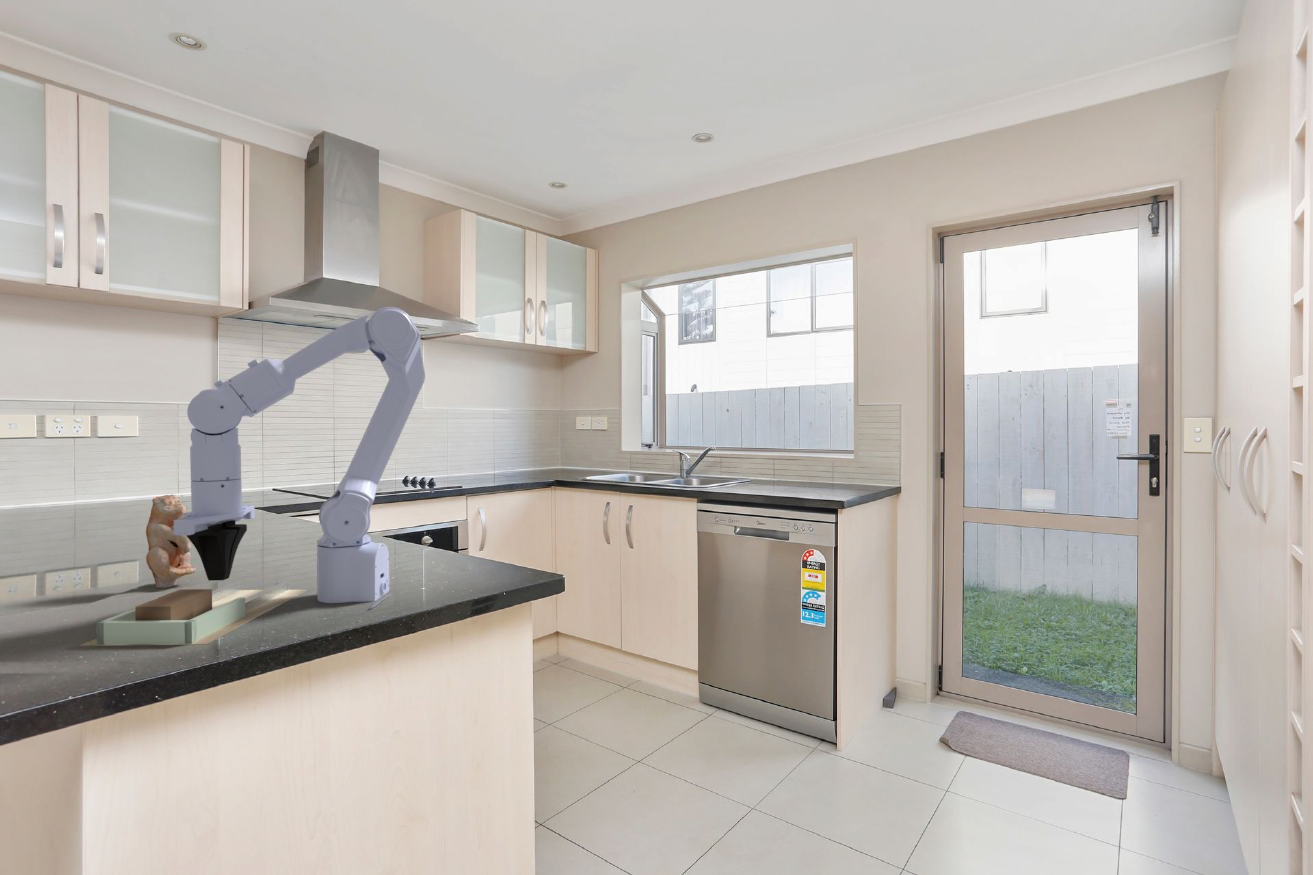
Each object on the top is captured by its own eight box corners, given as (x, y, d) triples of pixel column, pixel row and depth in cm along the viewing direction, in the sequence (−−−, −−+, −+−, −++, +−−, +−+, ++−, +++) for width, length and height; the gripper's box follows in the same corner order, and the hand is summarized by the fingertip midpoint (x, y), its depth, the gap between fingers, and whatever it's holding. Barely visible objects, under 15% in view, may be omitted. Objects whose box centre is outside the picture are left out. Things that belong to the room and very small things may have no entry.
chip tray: (245, 616, 87) (245, 597, 87) (191, 643, 76) (191, 621, 76) (162, 617, 87) (161, 598, 87) (96, 644, 76) (96, 622, 76)
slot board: (308, 595, 101) (308, 589, 101) (206, 652, 76) (206, 643, 76) (214, 596, 101) (214, 590, 101) (79, 653, 76) (79, 645, 76)
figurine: (173, 596, 100) (172, 498, 100) (132, 594, 102) (131, 497, 102) (208, 587, 106) (207, 494, 106) (169, 584, 108) (168, 493, 108)
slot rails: (290, 589, 101) (290, 581, 101) (241, 614, 88) (240, 605, 88) (233, 589, 101) (233, 582, 101) (176, 614, 88) (175, 605, 88)
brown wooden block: (212, 619, 86) (212, 589, 85) (192, 629, 82) (191, 597, 82) (180, 620, 85) (180, 589, 85) (158, 629, 81) (158, 597, 81)
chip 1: (193, 629, 82) (192, 597, 82) (171, 640, 78) (170, 606, 78) (159, 629, 81) (159, 597, 81) (135, 640, 77) (135, 606, 77)
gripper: (218, 475, 97) (220, 567, 97) (147, 485, 82) (150, 593, 83) (268, 475, 97) (270, 567, 97) (206, 484, 83) (208, 592, 83)
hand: (218, 579), depth 90 cm, fingers closed
